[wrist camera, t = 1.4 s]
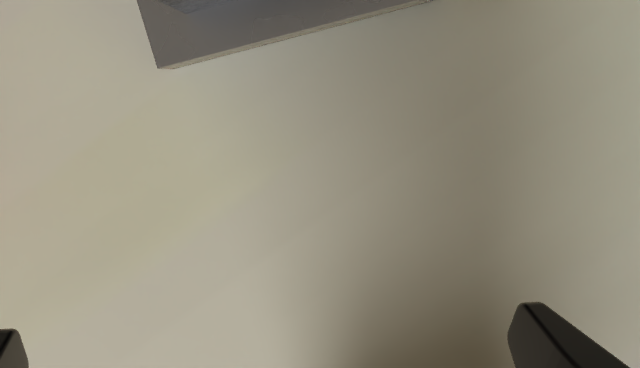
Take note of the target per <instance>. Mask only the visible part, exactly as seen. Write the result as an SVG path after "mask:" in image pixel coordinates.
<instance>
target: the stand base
mask: <svg viewBox="0 0 640 368" xmlns="http://www.w3.org/2000/svg"><path fill="white" fill-rule="evenodd" d="M430 1H433V0H137V2H138V6H139V9H140V12H141V16H142V19H143V22H144V25H145V29H146V32H147V35H148V39H149V42H150V45H151V48H152V52H153V55H154V58H155V61H156V65H157V68H159V69H175V68H179V67H183V66H187V65H191V64H194V63H198V62H202V61H206V60H210V59H213V58H217V57H221V56H225V55H228V54H232V53H236V52H240V51H244V50H247V49H251V48H255V47H259V46H263V45H266V44H270V43H274V42H278V41H282V40H285V39H289V38H293V37H297V36H301V35H304V34H308V33H312V32H316V31H320V30H323V29H327V28H331V27H335V26H339V25H342V24H346V23H350V22H354V21H358V20H361V19H365V18H369V17H373V16H376V15H380V14H384V13H388V12H392V11H395V10H399V9H403V8H407V7H411V6H414V5H418V4H422V3H426V2H430Z"/></svg>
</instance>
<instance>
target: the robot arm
mask: <svg viewBox="0 0 640 368" xmlns="http://www.w3.org/2000/svg"><path fill="white" fill-rule="evenodd" d="M508 344H509V348H510V351H511V354H512V357H513V361H514V364H515V367H516V368H630V367H628V366H627V365H626V364H624V363H623V362H622V361H620V360H619V359H618V358H616V357H615V356H614V355H612V354H611V353H609V352H608V351H607V350H605V349H604V348H603V347H601V346H600V345H599V344H597V343H596V342H595V341H593V340H592V339H591V338H589V337H588V336H587V335H585V334H584V333H583V332H581V331H580V330H579V329H577V328H576V327H574V326H573V325H572V324H570V323H569V322H568V321H566V320H565V319H564V318H562V317H561V316H560V315H558V314H557V313H556V312H554V311H553V310H552V309H550V308H549V307H548V306H546V305H545V304H543V303H541V302H526V303H521V304H520V305H519V306H518V307H517V309H516V312H515V314H514V317H513V319H512V322H511V325H510V327H509V330H508ZM0 368H29V364H28V358H27V355H26V352H25V349H24V346H23V343H22V340H21V337H20V334H19V332H18V331H17V330H16V329H0Z"/></svg>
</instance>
